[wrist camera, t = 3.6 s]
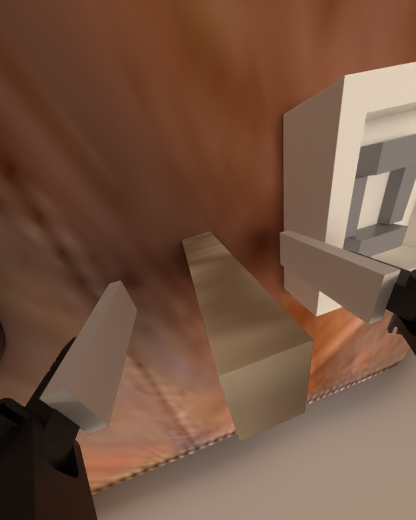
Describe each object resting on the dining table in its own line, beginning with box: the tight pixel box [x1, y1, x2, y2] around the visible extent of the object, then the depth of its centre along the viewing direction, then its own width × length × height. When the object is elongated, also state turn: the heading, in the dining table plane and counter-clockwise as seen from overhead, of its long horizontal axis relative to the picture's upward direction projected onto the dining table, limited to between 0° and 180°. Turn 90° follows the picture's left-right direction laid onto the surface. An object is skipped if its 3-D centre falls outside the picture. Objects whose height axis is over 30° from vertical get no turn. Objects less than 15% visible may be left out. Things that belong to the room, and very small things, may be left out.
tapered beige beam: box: [182, 232, 314, 441], centre depth 10 cm, size 2×4×11 cm, turn 13°
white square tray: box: [283, 62, 416, 316], centre depth 14 cm, size 16×16×4 cm
